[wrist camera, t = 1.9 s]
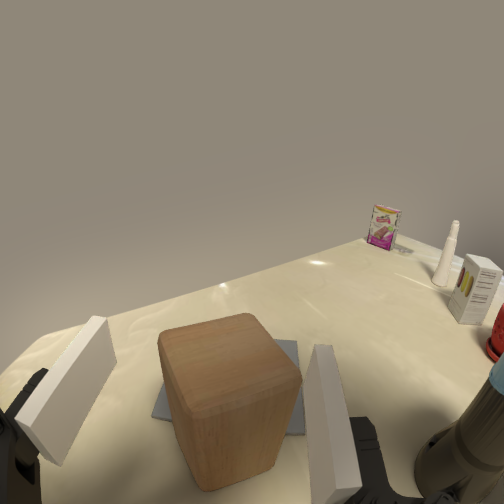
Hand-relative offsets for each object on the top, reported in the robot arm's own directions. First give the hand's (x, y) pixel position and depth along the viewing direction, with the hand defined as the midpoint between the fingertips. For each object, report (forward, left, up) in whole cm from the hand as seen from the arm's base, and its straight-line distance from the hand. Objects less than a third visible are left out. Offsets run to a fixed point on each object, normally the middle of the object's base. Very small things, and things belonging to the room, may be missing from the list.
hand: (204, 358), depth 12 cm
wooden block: (0, -10, -28) cm, 30 cm away
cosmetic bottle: (-64, -70, -28) cm, 99 cm away
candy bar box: (-52, -102, -28) cm, 118 cm away
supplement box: (-62, -49, -28) cm, 84 cm away
